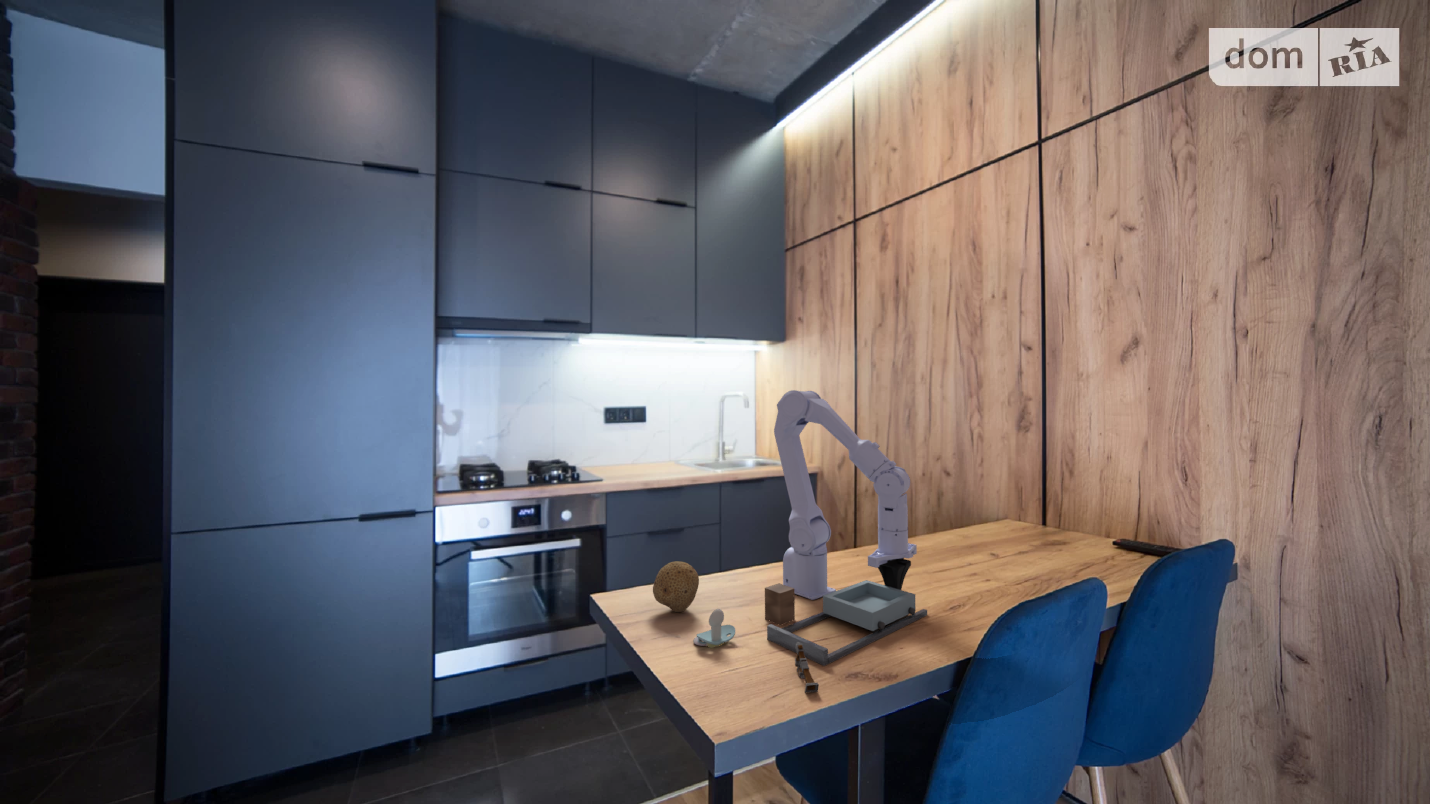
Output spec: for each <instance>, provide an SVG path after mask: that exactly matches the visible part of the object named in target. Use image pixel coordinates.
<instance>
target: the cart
mask: <svg viewBox="0 0 1430 804" xmlns="http://www.w3.org/2000/svg"><path fill="white" fill-rule="evenodd" d="M916 606H917V605H916V593H912V592H910V591H909V592H908V591H906V590H902V589H901V590H899V589H896V588H892V587H889V586H885V584H881V583H878V582H874V581H871V580H868V579H865V580H863V581H860V582H858V583H855V584H851V585H849V586H847V587H843V588H841V589H838V590H836V591H835V592H832V593H829V594H827V595H824V596H823V597H822V612H823V613H825V614H828V615H831V616H830V617H833V618H836V619H839V620H842V621H845V622H847V623H850V624H852V625H856V626H858V627H859V628H864V629H865V630H869V631H871V632H875V631H877V630H880V629H884V628H885V627H886V625H887V626H888V625H890V624H892V623H894V622H896V621H898V620H901V619H903V618H905V617H907V616H909V615H911V614H912V615H914V614H915V613H916V612H917V611H916Z"/></svg>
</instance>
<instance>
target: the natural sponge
mask: <svg viewBox="0 0 1430 804" xmlns="http://www.w3.org/2000/svg"><path fill="white" fill-rule="evenodd" d="M699 577H700V576H699V574H698V572H697V571H696V569H695V568H694V567H693V566H692V565H691V564H689V563H687V562H685V561H680V560H679V561H678V560H677V561H675V560H674V561H671V562H668V563H666V564H665V565H664V566H663V567H661V568H660V570H658V573H657V574H656V576H655V580H654V581H653V582H654V583H653V586H652V594H653V596H654V599H655V601H657V602H658V603H659V604H660V605H662V606H666V607H668V608H669V609H670V610H671V611H672V612H676V613H682V612H684V611H686V610H687V609H688V608H689V607H690V606H691V605H692V603H693V602H694V600H695V597H696V595H697V593H698V589H699V585H700V578H699Z"/></svg>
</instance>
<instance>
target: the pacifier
mask: <svg viewBox="0 0 1430 804" xmlns="http://www.w3.org/2000/svg"><path fill="white" fill-rule="evenodd" d="M724 620H725V613H724V611H723V610H722V609H721V608H716V609H715V610H713V611H712V612H711V614H710V616H709V618H708V624H709V626H710V629H709V630H707V631H704V632H699V633H697V634H696V636H695V638H694V639H693V641H692V642H693V644H695V645H697V646H701V647H704V646H705V647H707V646H709V647H708V648H716V647H715V646H718V647H720V646H719V645H721V644H723V643H724V642H725V643H727V642H729V641H731V640H732V639H733V638H734V637H735V636H736V628H735V626H734V625H731V624H724V625H723V622H724ZM725 643H724V644H725ZM724 644H723V645H724ZM721 646H722V645H721Z"/></svg>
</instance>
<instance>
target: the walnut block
mask: <svg viewBox="0 0 1430 804" xmlns="http://www.w3.org/2000/svg"><path fill="white" fill-rule="evenodd" d="M795 595H796V594H794V588H792V587H789V586H786V585H783V583H775V584H772V585H770V586H766V587H764V619H765V620H766V621H769V620H770V621H769V622H772V623H773V622H774V623H773V624H775V625H778V624H779V625H778V626H783V625H784V624H785V625H786V624H788V623H790V622H793V621H795V618H796V617H795V616H796V615H795V612H796V610H795V609H796V607H795V599H796V597H795ZM792 620H793V621H792ZM789 621H790V622H789ZM782 624H783V625H782Z"/></svg>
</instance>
